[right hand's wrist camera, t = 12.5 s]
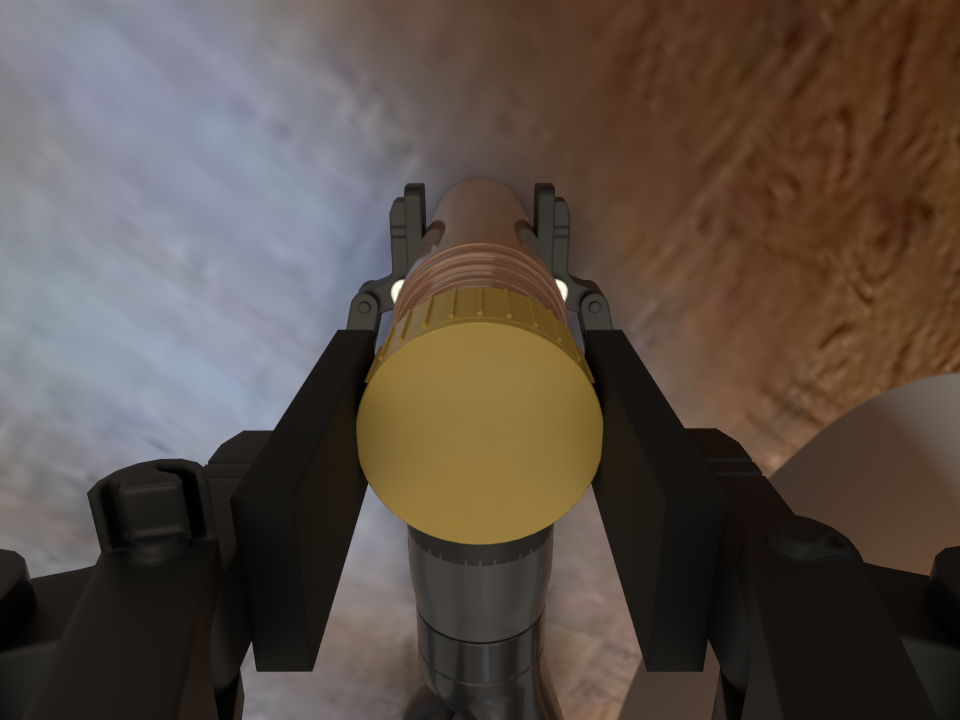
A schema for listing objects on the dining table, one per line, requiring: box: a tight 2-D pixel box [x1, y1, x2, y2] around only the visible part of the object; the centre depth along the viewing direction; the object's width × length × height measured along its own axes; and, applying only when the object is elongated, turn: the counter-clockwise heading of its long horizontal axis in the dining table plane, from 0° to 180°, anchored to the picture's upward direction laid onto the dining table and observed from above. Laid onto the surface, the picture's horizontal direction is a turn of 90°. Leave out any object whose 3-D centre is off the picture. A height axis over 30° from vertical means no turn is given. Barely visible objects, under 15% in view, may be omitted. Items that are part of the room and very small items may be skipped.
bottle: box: [391, 177, 568, 327], centre depth 24 cm, size 5×5×24 cm
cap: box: [356, 286, 603, 545], centre depth 13 cm, size 5×5×2 cm
